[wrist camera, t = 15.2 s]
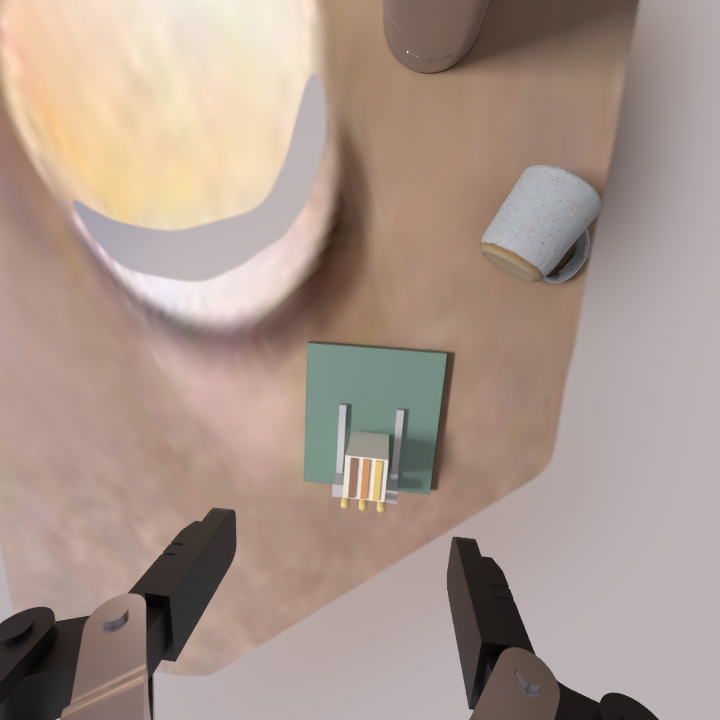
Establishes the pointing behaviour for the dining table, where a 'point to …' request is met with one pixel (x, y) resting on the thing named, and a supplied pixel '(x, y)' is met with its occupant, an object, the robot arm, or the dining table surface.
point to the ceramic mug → (542, 225)
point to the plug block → (366, 466)
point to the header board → (372, 412)
